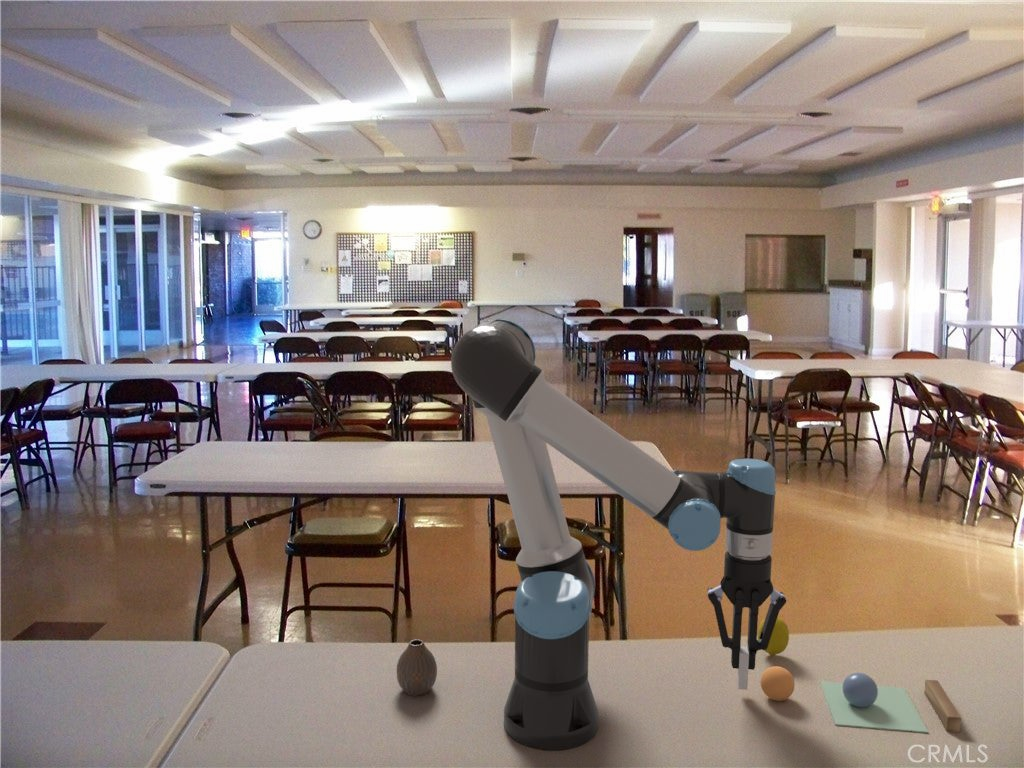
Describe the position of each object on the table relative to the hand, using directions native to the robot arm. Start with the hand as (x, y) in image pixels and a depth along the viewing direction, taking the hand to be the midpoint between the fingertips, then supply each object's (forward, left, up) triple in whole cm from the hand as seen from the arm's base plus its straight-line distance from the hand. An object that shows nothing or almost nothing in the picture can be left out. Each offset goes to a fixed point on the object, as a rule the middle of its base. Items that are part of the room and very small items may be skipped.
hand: (742, 685), depth 151 cm
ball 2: (+19, 0, +1) cm, 19 cm away
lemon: (+7, +16, -2) cm, 18 cm away
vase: (-55, -7, -2) cm, 55 cm away
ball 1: (+6, 0, +1) cm, 6 cm away
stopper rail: (+32, 0, -2) cm, 32 cm away
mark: (+21, 0, -2) cm, 21 cm away
